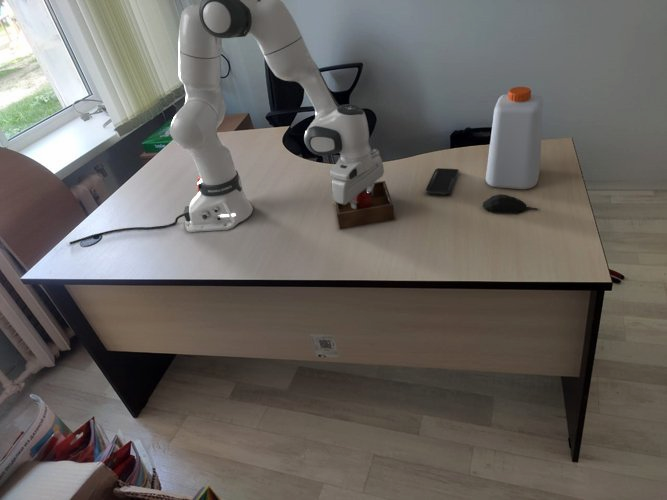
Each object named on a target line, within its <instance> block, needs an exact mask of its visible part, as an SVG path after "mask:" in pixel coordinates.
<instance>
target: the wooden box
mask: <svg viewBox="0 0 667 500" xmlns="http://www.w3.org/2000/svg"><path fill="white" fill-rule="evenodd" d="M374 184H375V185H374V188H373V195H372V196H371V197H372V204H371V206H370V207H369V208H363V209H357V208H356V209H353V208H352V207H351V203H350V202H348V203H347V204H345V205H343V204H340V203H337V202H336V201H335V200H334V204H335V211H336V217H337V223H338V228H339V230H345V229H349V228H355V227H357V228H358V227H362V226H368V225H373V224H378V223H385V222H391V221H395V219H396V218H395V209H394V203H393V199H392V197H391V194H390V190H389V189H388V186H387V183H386V181H385V180H382V181H381V180H380V181H375V182H374ZM365 191H367V188H366V189H365Z"/></svg>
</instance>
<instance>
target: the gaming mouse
mask: <svg viewBox="0 0 667 500" xmlns="http://www.w3.org/2000/svg"><path fill="white" fill-rule="evenodd" d="M482 208H483V209H484V210H485V211H486V212H490V213H493V214H520V213H523V212H525V210H535V211H537V210H538V208H537V207H531V206H527V204H526V203H525V202H524V201H523V200H522V199H520V198H517V197H515V196H511V195H508V194H502V193H501V194H500V193H499V194H494V195H492V196H490V197H489V198H487V199H486V200H485V201H483V202H482Z"/></svg>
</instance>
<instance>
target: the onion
mask: <svg viewBox="0 0 667 500" xmlns="http://www.w3.org/2000/svg"><path fill="white" fill-rule="evenodd" d="M354 201H355V202H358V205H359V206H358V207H357V209H363V208H369V207H370V206H371V204H372V197H371V195H370V194H369V193H368V192H367V191H365V190H364V191H362V192H361V193H360V194H358V195H357V196H356V197H355V200H354Z"/></svg>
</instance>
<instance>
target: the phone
mask: <svg viewBox="0 0 667 500" xmlns="http://www.w3.org/2000/svg"><path fill="white" fill-rule="evenodd" d="M459 175H460V170H459V169H458V168H444V167H443V168H441V167H438V168H437V167H436V169H435V170H434V172H433V173H432V176H431V177H430V180H429V182H428V184H427V186H426V189H425V194H426V195H431V196H442V197H443V196H444V197H448V196H451V195H452V192H453V190H454V187H455V184H456V182H457V180H458V178H459Z"/></svg>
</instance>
